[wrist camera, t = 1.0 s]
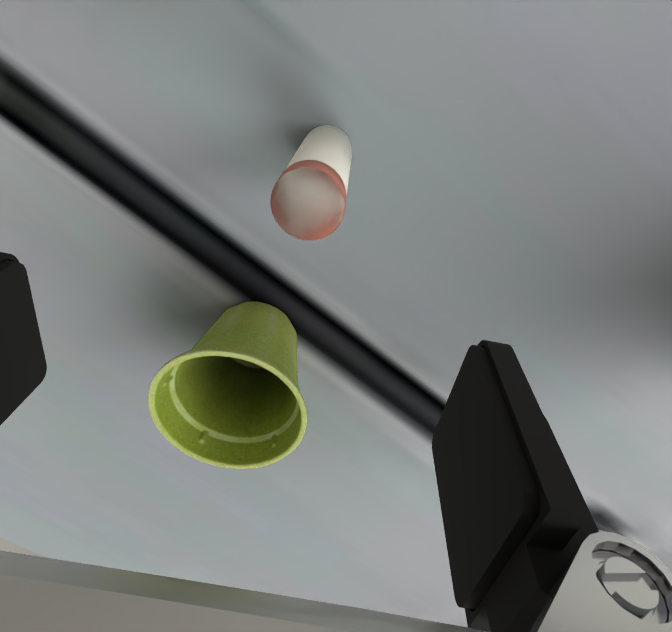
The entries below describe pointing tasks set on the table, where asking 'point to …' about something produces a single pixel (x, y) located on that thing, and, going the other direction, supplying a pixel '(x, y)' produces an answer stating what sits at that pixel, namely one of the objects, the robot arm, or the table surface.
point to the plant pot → (234, 391)
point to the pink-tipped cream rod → (314, 185)
